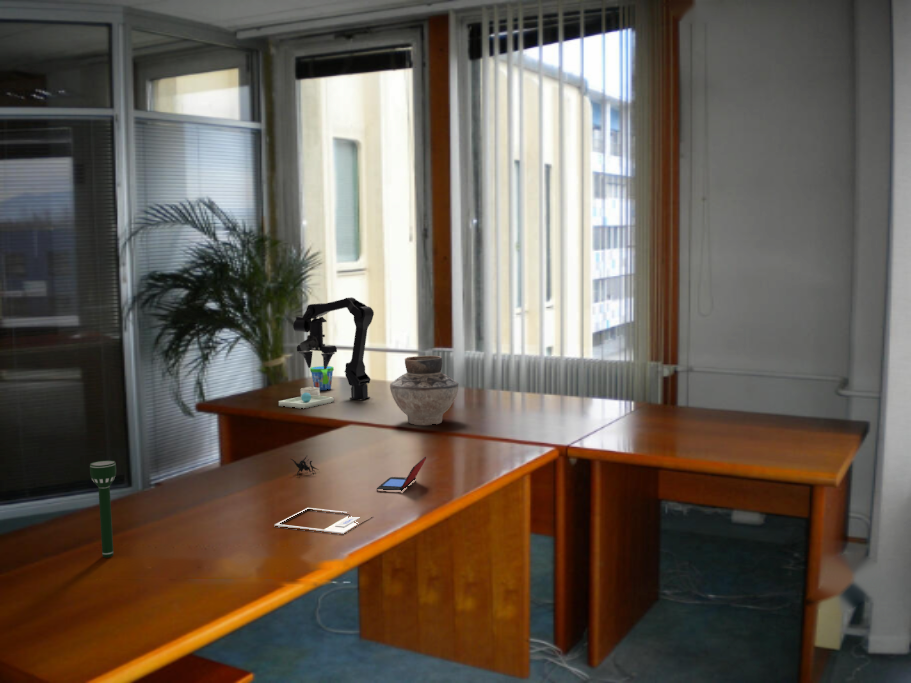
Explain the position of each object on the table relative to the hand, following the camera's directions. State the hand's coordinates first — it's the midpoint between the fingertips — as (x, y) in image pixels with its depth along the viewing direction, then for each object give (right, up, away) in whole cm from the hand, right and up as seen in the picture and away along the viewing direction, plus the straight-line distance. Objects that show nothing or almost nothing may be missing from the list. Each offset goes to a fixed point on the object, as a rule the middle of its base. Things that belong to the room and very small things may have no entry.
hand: (317, 368), depth 397 cm
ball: (-1, -13, -21) cm, 25 cm away
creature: (+18, -26, -138) cm, 142 cm away
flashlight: (-13, -34, -206) cm, 209 cm away
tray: (-1, -14, -21) cm, 25 cm away
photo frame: (+30, -31, -184) cm, 189 cm away
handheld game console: (+46, -28, -153) cm, 163 cm away
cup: (-2, -13, -4) cm, 13 cm away
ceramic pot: (+49, -18, -64) cm, 82 cm away
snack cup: (0, -10, +18) cm, 21 cm away
